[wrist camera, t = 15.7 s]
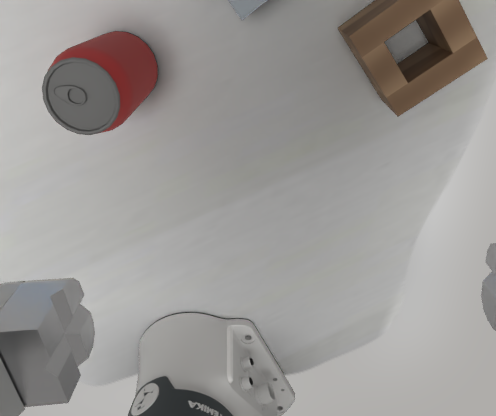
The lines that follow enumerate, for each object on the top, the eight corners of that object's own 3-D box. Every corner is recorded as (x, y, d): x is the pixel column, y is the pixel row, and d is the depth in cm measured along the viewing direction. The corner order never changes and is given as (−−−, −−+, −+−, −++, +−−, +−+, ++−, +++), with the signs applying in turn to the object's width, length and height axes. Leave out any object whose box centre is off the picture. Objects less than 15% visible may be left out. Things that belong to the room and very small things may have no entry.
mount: (458, 47, 42) (487, 58, 37) (381, 99, 44) (397, 116, 39) (417, -32, 39) (442, -32, 34) (337, 28, 42) (349, 36, 36)
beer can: (93, 22, 42) (36, 39, 31) (164, 40, 43) (132, 63, 32) (86, 92, 45) (32, 129, 34) (153, 109, 45) (120, 151, 35)
